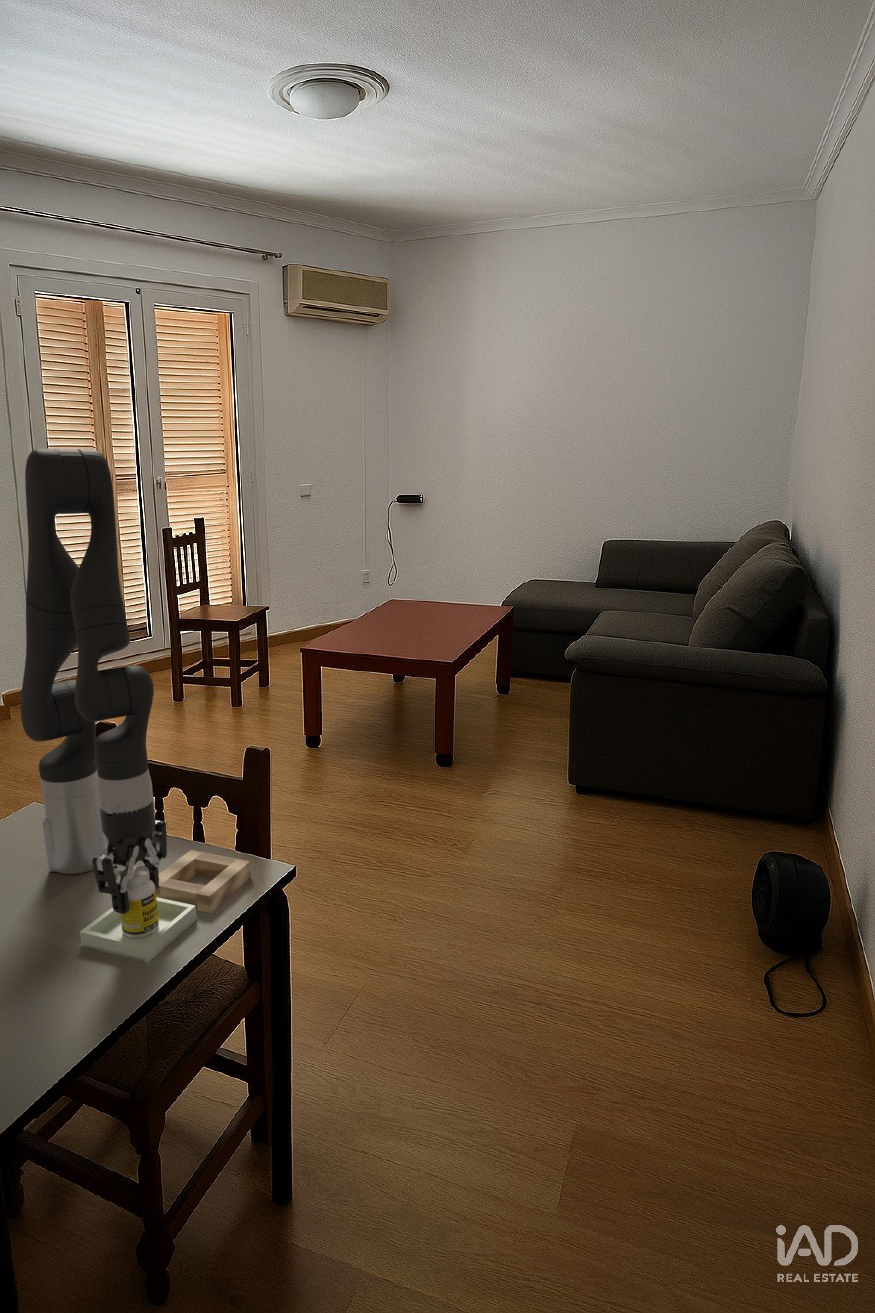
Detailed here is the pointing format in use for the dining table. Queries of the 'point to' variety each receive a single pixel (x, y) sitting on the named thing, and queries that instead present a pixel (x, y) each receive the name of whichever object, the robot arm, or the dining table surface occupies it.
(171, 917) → the tray
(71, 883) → the dining table surface
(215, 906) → the holder block
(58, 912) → the dining table surface
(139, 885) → the supplement bottle
